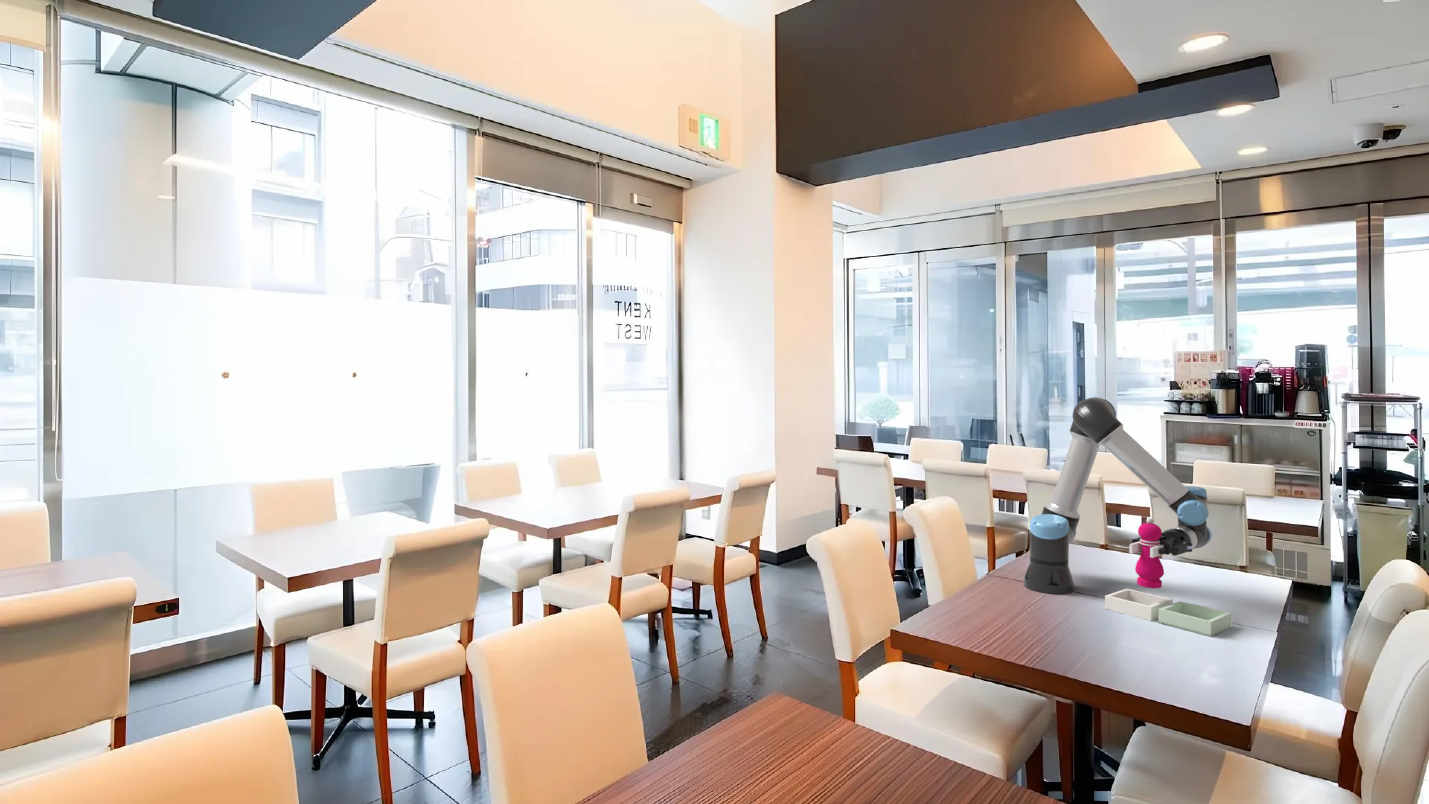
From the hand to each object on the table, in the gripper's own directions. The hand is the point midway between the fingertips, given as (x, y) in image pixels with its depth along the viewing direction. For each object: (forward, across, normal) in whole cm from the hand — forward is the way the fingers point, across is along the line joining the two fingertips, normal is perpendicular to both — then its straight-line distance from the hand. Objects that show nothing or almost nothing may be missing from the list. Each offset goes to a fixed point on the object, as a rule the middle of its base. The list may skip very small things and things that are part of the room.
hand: (1141, 550), depth 204 cm
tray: (-5, -12, -19) cm, 23 cm away
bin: (-5, +3, -19) cm, 20 cm away
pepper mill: (-5, 0, -11) cm, 12 cm away
